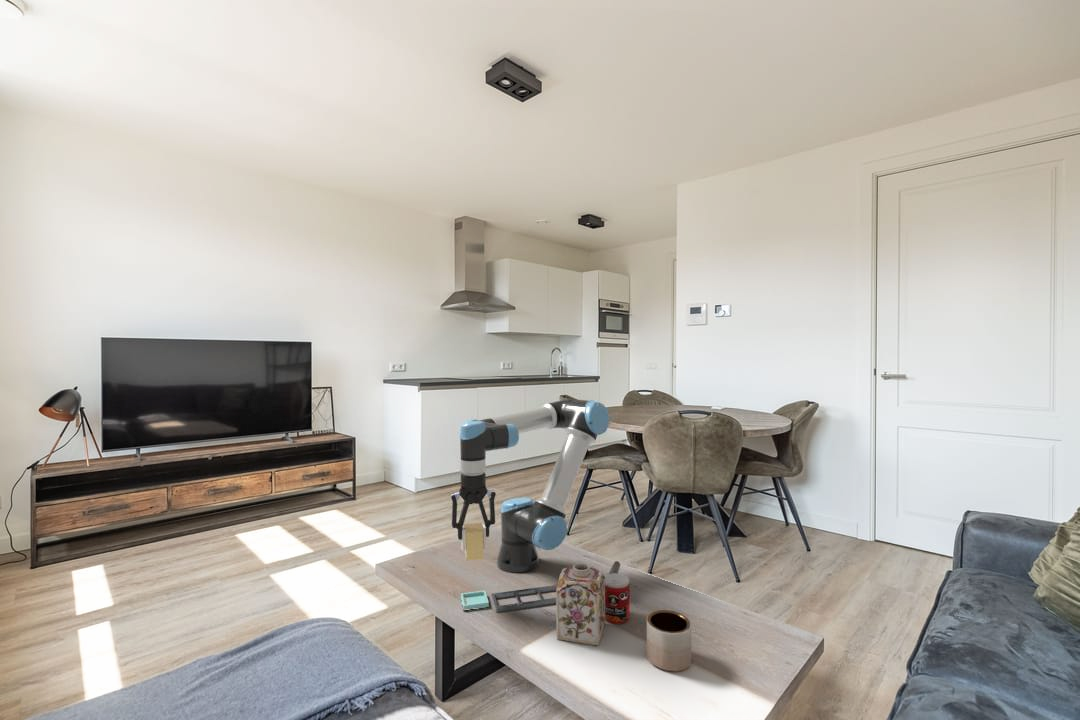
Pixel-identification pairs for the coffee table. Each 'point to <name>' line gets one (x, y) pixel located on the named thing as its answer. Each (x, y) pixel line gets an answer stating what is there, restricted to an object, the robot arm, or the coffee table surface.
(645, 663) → the coffee table surface
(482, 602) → the parts tray
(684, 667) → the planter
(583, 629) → the decorative jar
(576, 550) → the coffee table surface
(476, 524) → the block
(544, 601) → the rail
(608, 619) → the canned food
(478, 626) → the coffee table surface
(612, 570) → the portable electronic device stand
